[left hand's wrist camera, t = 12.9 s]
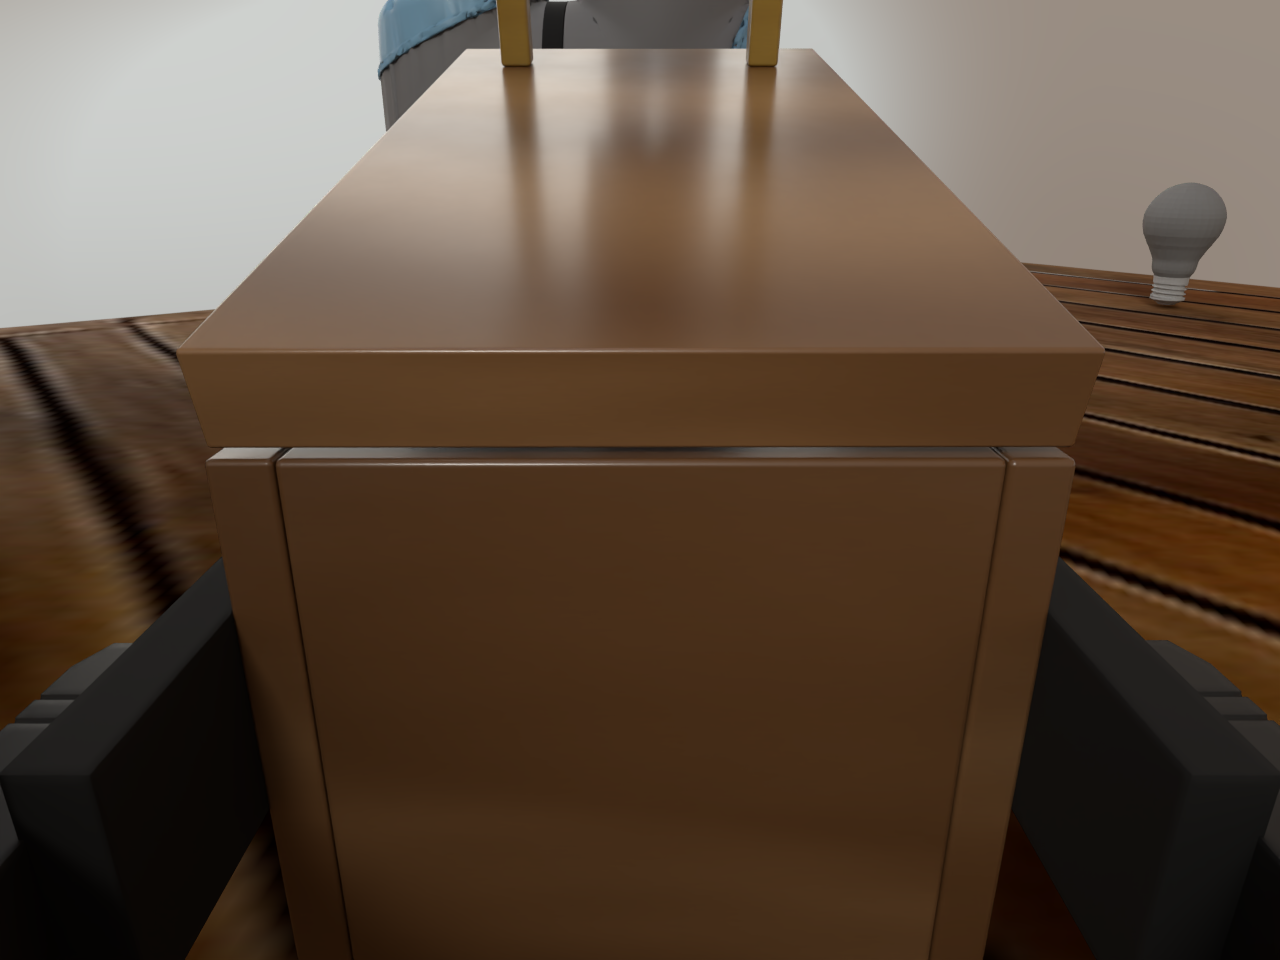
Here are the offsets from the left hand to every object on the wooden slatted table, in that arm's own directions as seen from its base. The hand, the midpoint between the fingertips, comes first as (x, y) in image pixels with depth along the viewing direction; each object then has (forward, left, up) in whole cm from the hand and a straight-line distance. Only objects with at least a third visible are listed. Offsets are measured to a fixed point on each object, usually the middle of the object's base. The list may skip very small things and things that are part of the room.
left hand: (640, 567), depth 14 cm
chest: (-4, +3, -7) cm, 8 cm away
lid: (-4, +3, +5) cm, 7 cm away
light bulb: (-20, +76, -7) cm, 79 cm away
